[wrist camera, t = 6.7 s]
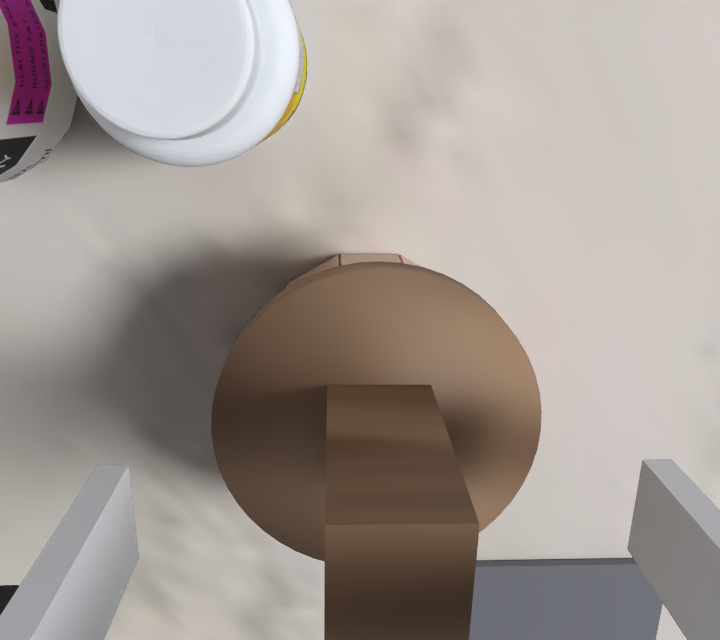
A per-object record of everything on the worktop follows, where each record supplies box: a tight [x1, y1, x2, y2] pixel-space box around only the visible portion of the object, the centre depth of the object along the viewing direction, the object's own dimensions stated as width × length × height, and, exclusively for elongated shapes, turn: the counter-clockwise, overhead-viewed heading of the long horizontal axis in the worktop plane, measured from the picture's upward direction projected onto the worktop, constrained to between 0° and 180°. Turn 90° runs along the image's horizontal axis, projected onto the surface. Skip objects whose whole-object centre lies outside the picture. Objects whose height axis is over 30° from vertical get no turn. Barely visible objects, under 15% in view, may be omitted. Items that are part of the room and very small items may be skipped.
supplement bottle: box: [57, 0, 307, 167], centre depth 18 cm, size 6×6×10 cm
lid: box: [211, 261, 541, 640], centre depth 18 cm, size 10×10×8 cm
